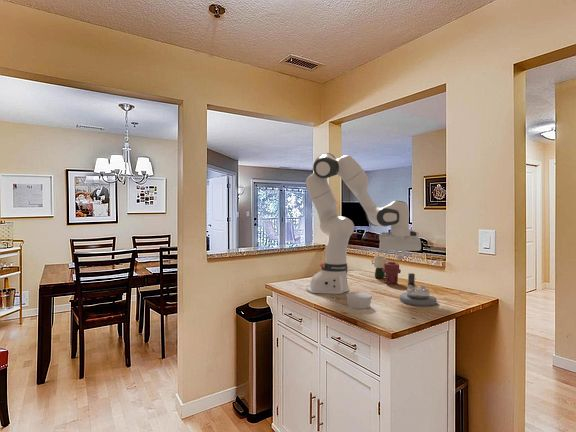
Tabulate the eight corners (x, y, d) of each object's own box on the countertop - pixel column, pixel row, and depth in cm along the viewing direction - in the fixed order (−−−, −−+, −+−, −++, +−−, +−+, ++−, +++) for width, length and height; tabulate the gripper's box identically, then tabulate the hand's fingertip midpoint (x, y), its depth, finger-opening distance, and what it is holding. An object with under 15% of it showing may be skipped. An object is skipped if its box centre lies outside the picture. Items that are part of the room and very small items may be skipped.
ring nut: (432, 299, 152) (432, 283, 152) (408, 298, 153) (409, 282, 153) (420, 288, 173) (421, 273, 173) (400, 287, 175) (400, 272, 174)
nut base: (409, 306, 149) (409, 301, 149) (394, 297, 165) (394, 292, 165) (443, 306, 151) (443, 301, 151) (425, 296, 167) (425, 292, 166)
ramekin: (353, 301, 157) (353, 290, 157) (376, 306, 150) (376, 294, 150) (341, 306, 149) (341, 294, 149) (364, 311, 142) (364, 299, 141)
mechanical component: (381, 281, 200) (398, 281, 199) (384, 285, 190) (402, 285, 189) (381, 260, 200) (398, 260, 199) (384, 263, 190) (402, 263, 189)
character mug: (390, 278, 209) (390, 257, 209) (386, 280, 204) (386, 258, 203) (373, 275, 216) (373, 255, 215) (369, 277, 210) (369, 256, 209)
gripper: (379, 232, 171) (379, 260, 172) (421, 232, 168) (421, 260, 168) (378, 231, 177) (378, 258, 178) (419, 231, 174) (419, 258, 175)
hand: (399, 259), depth 173 cm, fingers closed
